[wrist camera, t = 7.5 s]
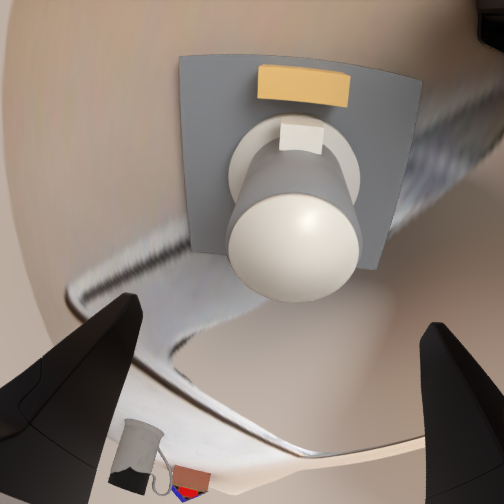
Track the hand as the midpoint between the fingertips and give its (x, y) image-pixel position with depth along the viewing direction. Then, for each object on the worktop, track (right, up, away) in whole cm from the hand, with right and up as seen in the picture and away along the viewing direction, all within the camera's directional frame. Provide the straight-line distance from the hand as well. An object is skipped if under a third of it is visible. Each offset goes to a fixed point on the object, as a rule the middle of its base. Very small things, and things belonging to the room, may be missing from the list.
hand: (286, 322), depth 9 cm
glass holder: (-21, -36, +46) cm, 62 cm away
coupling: (+1, +6, +7) cm, 9 cm away
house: (-22, -72, +74) cm, 106 cm away
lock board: (+2, +7, +9) cm, 12 cm away
